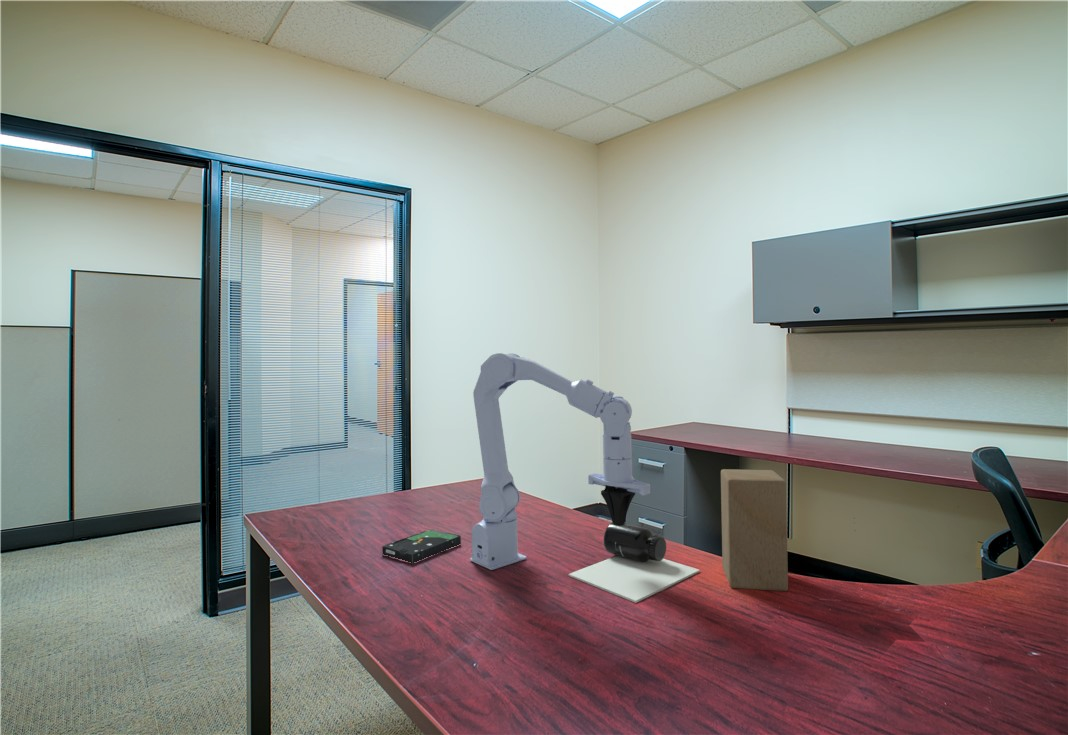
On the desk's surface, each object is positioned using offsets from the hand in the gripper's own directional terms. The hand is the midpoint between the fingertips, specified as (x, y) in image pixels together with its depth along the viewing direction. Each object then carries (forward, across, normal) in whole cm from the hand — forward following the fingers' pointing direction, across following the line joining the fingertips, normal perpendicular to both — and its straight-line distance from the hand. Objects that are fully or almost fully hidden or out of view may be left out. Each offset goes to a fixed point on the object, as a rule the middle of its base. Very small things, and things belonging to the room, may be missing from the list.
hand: (618, 524), depth 109 cm
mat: (+9, -4, 0) cm, 10 cm away
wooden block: (+9, -21, -14) cm, 27 cm away
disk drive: (+10, +38, +23) cm, 46 cm away
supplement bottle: (+5, +7, -5) cm, 10 cm away
